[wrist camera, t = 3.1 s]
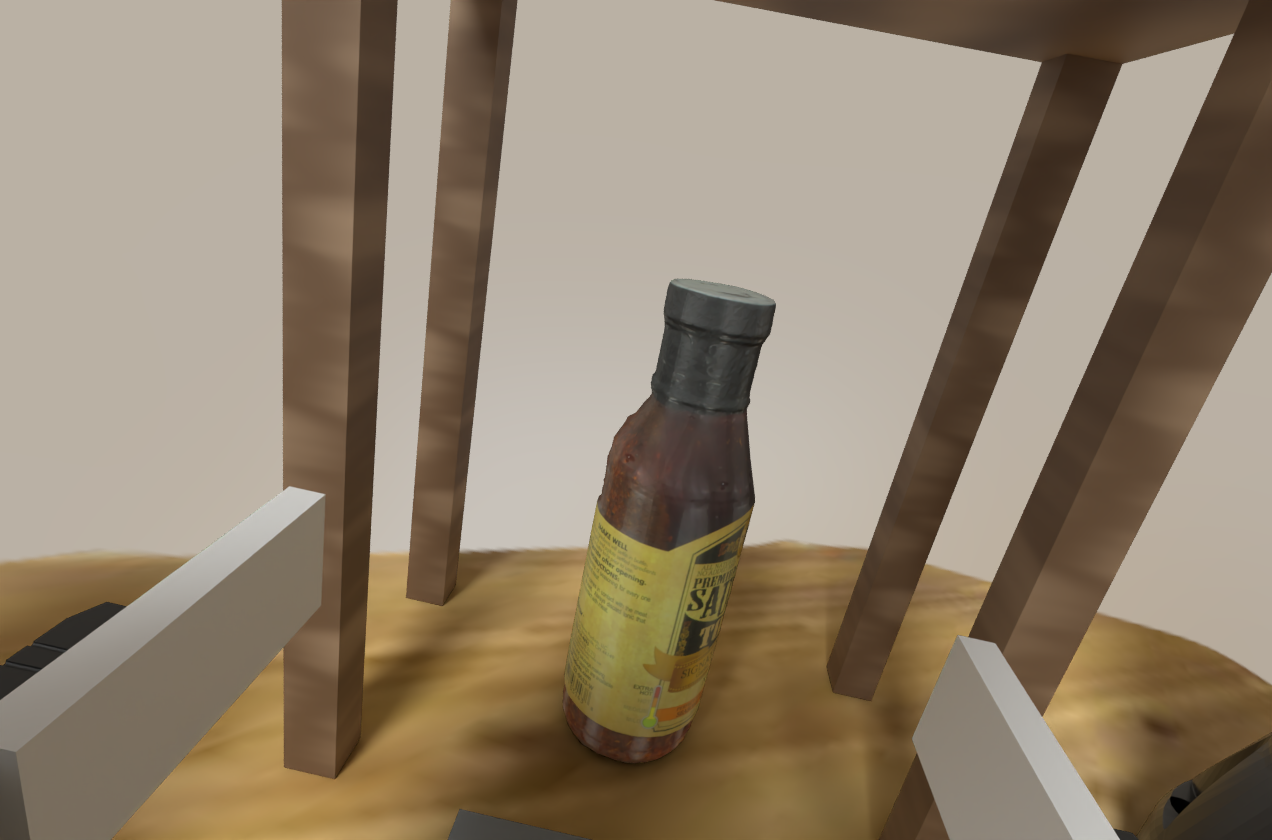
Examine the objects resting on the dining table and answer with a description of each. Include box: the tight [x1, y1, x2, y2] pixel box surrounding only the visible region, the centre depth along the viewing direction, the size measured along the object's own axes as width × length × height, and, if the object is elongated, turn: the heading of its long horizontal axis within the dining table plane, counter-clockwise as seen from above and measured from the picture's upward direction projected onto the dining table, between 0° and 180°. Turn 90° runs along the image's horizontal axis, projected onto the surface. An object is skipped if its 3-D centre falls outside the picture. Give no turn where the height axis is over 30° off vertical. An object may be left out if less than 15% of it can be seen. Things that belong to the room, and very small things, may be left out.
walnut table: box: [282, 0, 1272, 840], centre depth 26 cm, size 25×13×32 cm, turn 84°
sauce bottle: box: [563, 279, 776, 763], centre depth 28 cm, size 7×6×20 cm
